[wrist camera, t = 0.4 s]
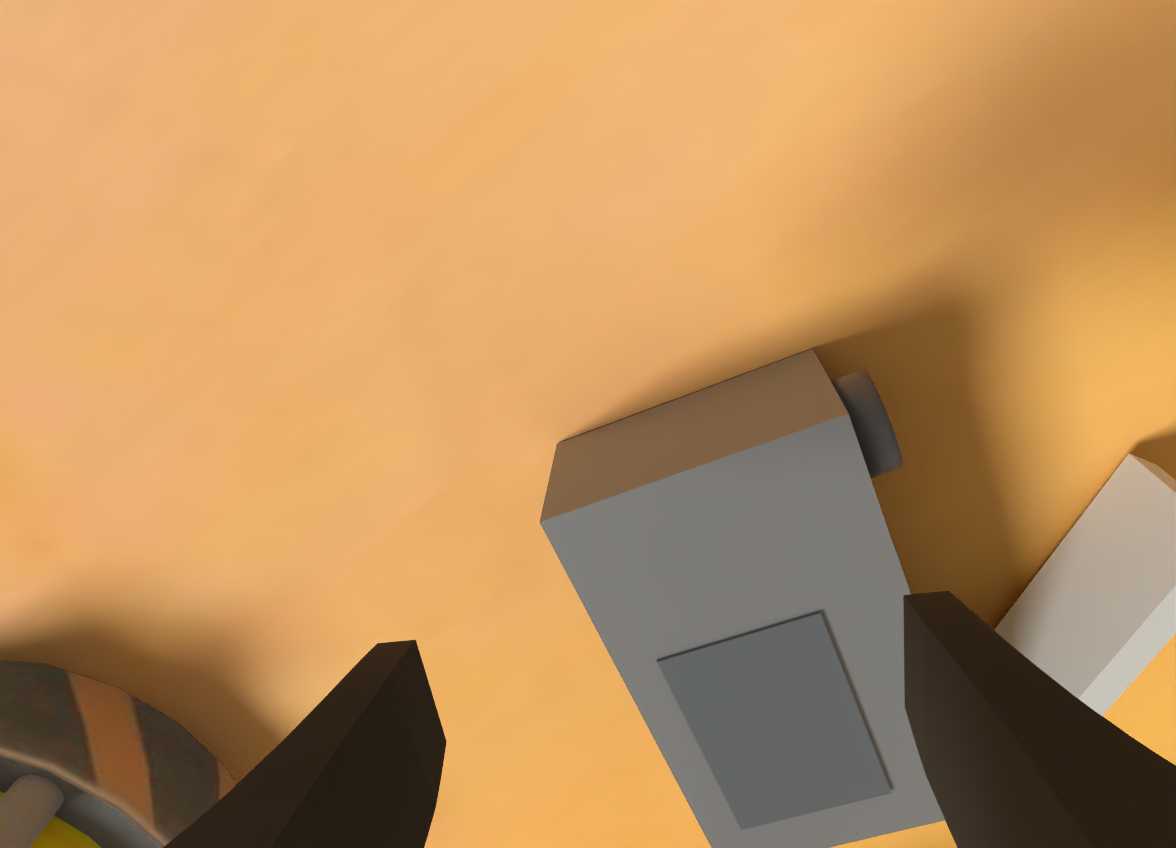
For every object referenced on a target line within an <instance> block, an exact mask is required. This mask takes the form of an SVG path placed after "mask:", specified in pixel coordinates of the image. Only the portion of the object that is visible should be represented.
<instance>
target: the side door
mask: <svg viewBox="0 0 1176 848" xmlns="http://www.w3.org/2000/svg"><path fill="white" fill-rule="evenodd" d="M994 631H996V632H997V633H998V634H999V635H1000V636H1001V637H1003V638H1004V639H1005V640H1006V641H1007V642H1008V643H1010V644H1011V645H1012V646H1013V647H1014V648H1016V649H1017V650H1018V651H1019V652H1020V653H1022V654H1023V655H1024V656H1025V657H1026V658H1028V659H1029V660H1030V661H1031V662H1032V663H1034V664H1035V665H1036V666H1037V667H1039V668H1040V669H1041V670H1042V671H1044V672H1045V673H1046V674H1047V675H1049V676H1050V677H1051V678H1052V679H1054V680H1055V681H1056V682H1058V683H1059V684H1060V685H1061V686H1063V687H1064V688H1065V689H1066V690H1068V691H1069V692H1070V693H1071V694H1073V695H1074V696H1075V697H1077V698H1078V699H1079V700H1081V701H1082V702H1083V703H1085V704H1086V705H1087V706H1089V707H1090V708H1091V709H1093V710H1094V711H1095V712H1097V713H1098V714H1100V715H1101V716H1103V715H1104V713H1105V712H1106V711H1107V710H1108V709H1109V708H1110V707H1111V706H1112V704H1113V703H1114V702H1115V701H1116V700H1117V699H1118V698H1119V696H1120V695H1121V694H1122V693H1123V692H1124V691H1125V690H1126V689H1127V687H1128V686H1129V685H1130V684H1131V683H1132V682H1133V681H1134V680H1135V678H1136V677H1137V676H1138V675H1139V674H1140V673H1141V672H1142V671H1143V669H1144V668H1145V667H1146V666H1147V665H1148V664H1149V663H1150V661H1151V660H1152V659H1153V658H1154V657H1155V656H1156V655H1157V654H1158V652H1159V651H1160V650H1161V649H1162V648H1163V647H1164V646H1165V645H1166V643H1167V642H1168V641H1169V640H1170V639H1171V638H1172V637H1173V635H1174V634H1175V633H1176V480H1175V479H1173V478H1172V477H1171V476H1170V475H1169V474H1167V473H1166V472H1165V471H1164V470H1162V469H1161V468H1160V467H1159V466H1158V465H1156V464H1154V463H1151V462H1149V461H1146V460H1144V459H1142V458H1139V457H1137V456H1134V455H1132V454H1128V455H1127V457H1126V458H1125V459H1124V460H1123V462H1122V463H1121V464H1120V466H1119V467H1118V468H1117V470H1116V471H1115V472H1114V474H1113V475H1112V476H1111V478H1110V479H1109V480H1108V481H1107V483H1106V484H1105V485H1104V487H1103V488H1102V489H1101V491H1100V492H1099V493H1098V495H1097V496H1096V497H1095V499H1094V500H1093V501H1092V502H1091V504H1090V505H1089V506H1088V508H1087V509H1086V510H1085V512H1084V513H1083V514H1082V516H1081V517H1080V518H1079V520H1078V521H1077V522H1076V523H1075V525H1074V526H1073V527H1072V529H1071V530H1070V531H1069V533H1068V534H1067V535H1066V537H1065V538H1064V539H1063V540H1062V542H1061V543H1060V544H1059V546H1058V547H1057V548H1056V550H1055V551H1054V552H1053V554H1052V555H1051V556H1050V558H1049V559H1048V560H1047V561H1046V563H1045V564H1044V565H1043V567H1042V568H1041V569H1040V571H1039V572H1038V573H1037V575H1036V576H1035V577H1034V579H1033V580H1032V581H1031V582H1030V584H1029V585H1028V586H1027V588H1026V589H1025V590H1024V592H1023V593H1022V594H1021V596H1020V597H1019V598H1018V600H1017V601H1016V602H1015V603H1014V605H1013V606H1012V607H1011V609H1010V610H1009V611H1008V613H1007V614H1006V615H1005V617H1004V618H1003V619H1002V621H1001V622H1000V623H999V624H998V626H997V627H996V628H995V630H994Z"/></svg>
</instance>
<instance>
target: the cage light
mask: <svg viewBox="0 0 1176 848" xmlns="http://www.w3.org/2000/svg"><path fill="white" fill-rule="evenodd" d="M235 786H236V783H235V782H234V780H233V778H232V776H231V775H230V773H229V771H228V770H227V768H226V767H225V766H224V765H223V764H222V763H220V762H219V761H218V760H217V759H216V758H215V757H214V756H213V755H212V754H211V753H210V752H209V751H208V750H207V749H206V748H205V747H204V746H202V745H201V744H200V743H199V742H198V741H197V740H196V739H195V738H194V737H193V736H192V735H191V734H190V733H189V732H188V731H187V730H186V729H184V728H183V727H182V726H181V725H180V724H179V723H177V722H176V721H174V720H172V719H171V718H169V717H167V716H165V715H164V714H162V713H160V712H159V711H157V710H155V709H153V708H152V707H150V706H148V705H146V704H145V703H143V702H141V701H140V700H138V699H136V698H134V697H133V696H131V695H129V694H128V693H126V692H124V691H122V690H121V689H119V688H117V687H115V686H112V685H108V684H105V683H102V682H99V681H96V680H93V679H90V678H87V677H84V676H81V675H78V674H74V673H71V672H68V671H65V670H62V669H59V668H56V667H53V666H50V665H47V664H36V663H24V662H13V661H1V660H0V848H163V847H164V846H165V845H166V844H168V843H169V842H170V841H171V840H173V839H174V838H175V837H176V836H178V835H179V834H180V833H181V832H182V831H184V830H185V829H186V828H187V827H189V826H190V825H191V824H192V823H194V822H195V821H196V820H197V819H198V818H200V817H201V816H202V815H203V814H204V813H205V812H207V811H208V810H209V809H210V808H211V807H212V806H214V805H215V804H216V803H217V802H218V801H219V800H220V799H222V798H223V797H224V796H225V795H226V794H227V793H228V792H229V791H231V790H232V789H233V788H234V787H235Z"/></svg>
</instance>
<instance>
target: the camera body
mask: <svg viewBox="0 0 1176 848" xmlns="http://www.w3.org/2000/svg"><path fill="white" fill-rule="evenodd" d="M900 468H902V459H901V454H900V451H899V447H898V444H897V441H896V438H895V435H894V432H893V429H892V426H891V423H890V421H889V418H888V416H887V413H886V410H885V408H884V406H883V403H882V401H881V399H880V396H879V394H878V392H877V390H876V388H875V386H874V383H873V382H872V380H871V378H870V376H869V374H868V373H867V371H866V370H865V369H861V370H858V371H855V372H852V373H850V374H847V375H844V376H841V377H839V378H836V379H833V380H830V379H829V377H828V375H827V374H826V372H825V370H824V368H823V366H822V365H821V363H820V361H819V359H818V357H817V356H816V354H815V352H814V350H813V349H810V350H807V351H805V352H802V353H799V354H796V355H794V356H791V357H788V358H786V359H783V360H780V361H778V362H775V363H772V364H770V365H767V366H764V367H762V368H759V369H756V370H754V371H751V372H748V373H745V374H743V375H740V376H737V377H735V378H732V379H729V380H727V381H724V382H721V383H719V384H716V385H713V386H711V387H708V388H705V389H703V390H700V391H697V392H694V393H692V394H689V395H686V396H684V397H681V398H678V399H676V400H673V401H670V402H668V403H665V404H662V405H660V406H657V407H654V408H652V409H649V410H646V411H644V412H641V413H638V414H635V415H633V416H630V417H627V418H625V419H622V420H619V421H617V422H614V423H611V424H609V425H606V426H603V427H601V428H598V429H595V430H593V431H590V432H587V433H584V434H582V435H579V436H576V437H574V438H571V439H568V440H566V441H563V442H560V443H558V444H557V446H556V451H555V455H554V460H553V464H552V469H551V473H550V478H549V482H548V487H547V492H546V496H545V501H544V505H543V510H542V514H541V519H540V524H541V525H542V527H543V529H544V531H545V533H546V535H547V537H548V539H549V541H550V542H551V544H552V546H553V548H554V550H555V552H556V554H557V556H558V558H559V560H560V561H561V563H562V565H563V567H564V569H565V571H566V573H567V575H568V577H569V578H570V580H571V582H572V584H573V586H574V588H575V590H576V592H577V594H578V595H579V597H580V599H581V601H582V603H583V605H584V607H585V609H586V611H587V613H588V614H589V616H590V618H591V620H592V622H593V624H594V626H595V628H596V630H597V631H598V633H599V635H600V637H601V639H602V641H603V643H604V645H605V647H606V648H607V650H608V652H609V654H610V656H611V658H612V660H613V662H614V664H615V666H616V667H617V669H618V671H619V673H620V675H621V677H622V679H623V681H624V683H625V684H626V686H627V688H628V690H629V692H630V694H631V696H632V698H633V700H634V701H635V703H636V705H637V707H638V709H639V711H640V713H641V715H642V717H643V719H644V720H645V722H646V724H647V726H648V728H649V730H650V732H651V734H652V736H653V737H654V739H655V741H656V743H657V745H658V747H659V749H660V751H661V753H662V754H663V756H664V758H665V760H666V762H667V764H668V766H669V768H670V770H671V772H672V773H673V775H674V777H675V779H676V781H677V783H678V785H679V787H680V789H681V790H682V792H683V794H684V796H685V798H686V800H687V802H688V804H689V806H690V807H691V809H692V811H693V813H694V815H695V817H696V819H697V821H698V823H699V825H700V826H701V828H702V830H703V832H704V834H705V836H706V838H707V840H708V842H709V843H710V845H711V847H712V848H829V847H833V846H837V845H842V844H846V843H850V842H854V841H859V840H863V839H867V838H871V837H876V836H880V835H884V834H888V833H892V832H897V831H901V830H905V829H909V828H914V827H918V826H922V825H926V824H931V823H935V822H939V821H943V820H945V818H944V816H943V814H942V811H941V809H940V807H939V804H938V802H937V800H936V798H935V795H934V793H933V791H932V788H931V786H930V784H929V781H928V779H927V777H926V774H925V771H924V768H923V765H922V762H921V759H920V756H919V753H918V749H917V746H916V743H915V740H914V736H913V733H912V730H911V726H910V723H909V720H908V716H907V713H906V710H905V695H904V603H903V595H910V594H911V592H910V589H909V586H908V583H907V580H906V577H905V574H904V571H903V568H902V565H901V563H900V560H899V557H898V554H897V552H896V550H895V548H894V545H893V542H892V539H891V536H890V533H889V530H888V528H887V525H886V522H885V519H884V516H883V513H882V510H881V507H880V504H879V501H878V498H877V495H876V492H875V490H874V487H873V484H872V481H871V478H872V477H875V476H878V475H881V474H884V473H888V472H891V471H894V470H897V469H900Z"/></svg>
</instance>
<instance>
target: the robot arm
mask: <svg viewBox="0 0 1176 848" xmlns="http://www.w3.org/2000/svg"><path fill="white" fill-rule="evenodd" d="M903 603H904V695H905V710H906V713H907V716H908V720H909V723H910V726H911V730H912V733H913V736H914V740H915V743H916V746H917V749H918V753H919V756H920V759H921V762H922V765H923V768H924V771H925V774H926V777H927V779H928V781H929V784H930V786H931V788H932V791H933V793H934V795H935V798H936V800H937V802H938V804H939V807H940V809H941V811H942V814H943V816H944V818H945V820H946V823H947V825H948V827H949V830H950V832H951V834H952V836H953V839H954V841H955V843H956V845H957V848H1176V766H1175V765H1174V764H1172V763H1171V762H1169V761H1167V760H1166V759H1164V758H1163V757H1161V756H1159V755H1158V754H1156V753H1155V752H1153V751H1152V750H1150V749H1149V748H1147V747H1146V746H1144V745H1143V744H1141V743H1140V742H1138V741H1137V740H1135V739H1134V738H1132V737H1131V736H1129V735H1128V734H1126V733H1125V732H1124V731H1122V730H1121V729H1119V728H1118V727H1117V726H1115V725H1114V724H1112V723H1111V722H1109V721H1108V720H1107V719H1105V718H1104V717H1102V716H1101V715H1100V714H1098V713H1097V712H1095V711H1094V710H1093V709H1091V708H1090V707H1089V706H1087V705H1086V704H1085V703H1083V702H1082V701H1081V700H1079V699H1078V698H1077V697H1075V696H1074V695H1073V694H1071V693H1070V692H1069V691H1068V690H1066V689H1065V688H1064V687H1063V686H1061V685H1060V684H1059V683H1058V682H1056V681H1055V680H1054V679H1052V678H1051V677H1050V676H1049V675H1047V674H1046V673H1045V672H1044V671H1042V670H1041V669H1040V668H1039V667H1037V666H1036V665H1035V664H1034V663H1032V662H1031V661H1030V660H1029V659H1028V658H1026V657H1025V656H1024V655H1023V654H1022V653H1020V652H1019V651H1018V650H1017V649H1016V648H1014V647H1013V646H1012V645H1011V644H1010V643H1008V642H1007V641H1006V640H1005V639H1004V638H1003V637H1001V636H1000V635H999V634H998V633H997V632H996V631H994V630H993V629H992V628H991V627H990V626H989V625H987V624H986V623H985V622H984V621H983V620H982V619H981V618H979V617H978V616H977V615H976V614H975V613H974V612H973V611H971V610H970V609H969V608H968V607H967V606H966V605H964V604H963V603H962V602H961V601H960V600H959V599H957V598H956V597H955V596H954V595H953V594H951V593H950V592H949V591H943V592H932V593H921V594H910V595H903ZM445 747H446V739H445V735H444V732H443V729H442V725H441V722H440V719H439V716H438V712H437V709H436V706H435V702H434V699H433V696H432V692H431V689H430V686H429V682H428V679H427V676H426V673H425V669H424V666H423V663H422V659H421V656H420V653H419V649H418V646H417V643H416V640H410V641H399V642H388V643H378V644H377V645H376V646H375V647H373V648H372V649H371V650H370V651H369V652H368V653H367V654H366V655H365V656H364V657H363V658H362V659H361V660H360V661H359V662H358V663H357V664H356V666H355V667H354V668H353V669H352V670H351V671H350V672H349V673H348V674H347V675H346V676H345V677H344V678H343V679H342V680H341V681H340V682H339V683H338V684H337V685H336V687H335V688H334V689H333V690H332V691H331V692H330V693H329V694H328V695H327V696H326V697H325V698H324V699H323V700H322V701H321V702H320V703H319V704H318V705H317V706H316V707H315V708H314V709H313V711H312V712H311V713H310V714H309V715H308V716H307V717H306V718H305V719H304V720H303V721H302V722H301V723H300V724H299V725H298V726H297V727H296V728H295V729H294V730H293V731H292V732H291V733H290V734H289V735H288V736H287V737H286V738H285V739H284V740H283V741H282V742H281V743H280V744H279V745H278V746H277V747H276V748H275V749H274V750H273V751H272V752H271V753H270V754H269V755H267V756H266V757H265V758H264V759H263V760H262V761H261V762H260V763H259V764H258V765H257V766H256V767H255V768H254V769H253V770H252V771H251V772H250V773H248V774H247V775H246V776H245V777H244V778H243V779H242V780H241V781H240V782H239V783H238V784H237V785H236V786H235V787H234V788H233V789H232V790H231V791H229V792H228V793H227V794H226V795H225V796H224V797H223V798H222V799H220V800H219V801H218V802H217V803H216V804H215V805H214V806H212V807H211V808H210V809H209V810H208V811H207V812H205V813H204V814H203V815H202V816H201V817H200V818H198V819H197V820H196V821H195V822H194V823H192V824H191V825H190V826H189V827H187V828H186V829H185V830H184V831H182V832H181V833H180V834H179V835H178V836H176V837H175V838H174V839H173V840H171V841H170V842H169V843H168V844H166V845H165V846H164V847H163V848H424V846H425V842H426V839H427V836H428V832H429V829H430V825H431V822H432V818H433V815H434V811H435V808H436V802H437V797H438V791H439V786H440V780H441V774H442V767H443V761H444V754H445Z"/></svg>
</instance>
